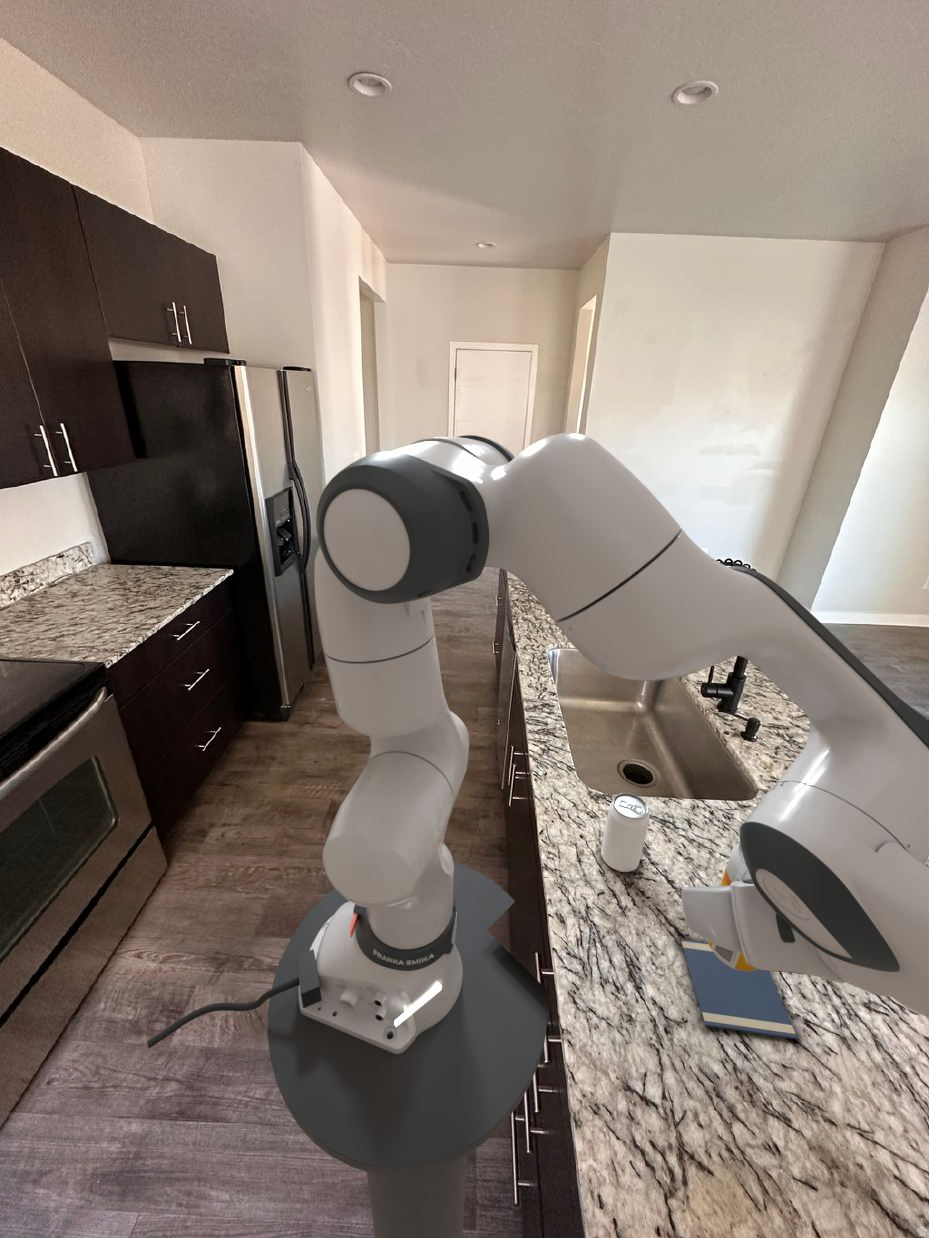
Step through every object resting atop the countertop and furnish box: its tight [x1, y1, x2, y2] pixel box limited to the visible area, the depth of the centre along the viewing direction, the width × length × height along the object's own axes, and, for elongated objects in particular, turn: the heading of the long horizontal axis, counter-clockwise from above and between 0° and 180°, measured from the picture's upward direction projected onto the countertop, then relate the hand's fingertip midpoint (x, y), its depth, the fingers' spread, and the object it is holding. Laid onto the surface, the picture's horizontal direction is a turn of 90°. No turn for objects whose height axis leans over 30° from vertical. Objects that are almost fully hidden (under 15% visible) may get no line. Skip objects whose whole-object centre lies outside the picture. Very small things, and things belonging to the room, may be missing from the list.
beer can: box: [706, 841, 757, 971], centre depth 55 cm, size 6×6×15 cm
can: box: [600, 792, 651, 873], centre depth 82 cm, size 6×6×12 cm
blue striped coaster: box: [680, 938, 798, 1041], centre depth 66 cm, size 11×11×1 cm
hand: (746, 895), depth 55 cm, fingers closed on beer can, 6 cm apart
